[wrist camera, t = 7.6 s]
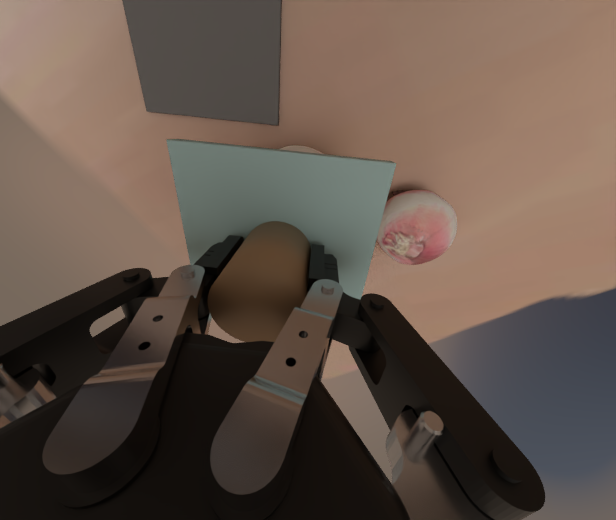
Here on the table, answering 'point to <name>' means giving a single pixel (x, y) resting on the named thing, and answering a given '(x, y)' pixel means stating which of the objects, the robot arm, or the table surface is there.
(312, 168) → the lid
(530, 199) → the table surface
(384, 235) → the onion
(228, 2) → the mat
